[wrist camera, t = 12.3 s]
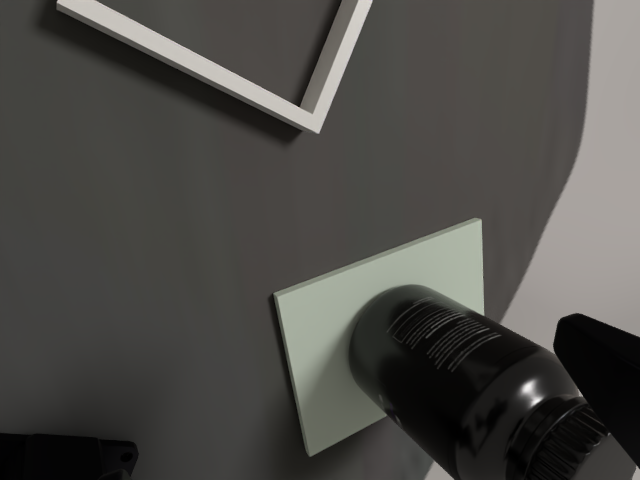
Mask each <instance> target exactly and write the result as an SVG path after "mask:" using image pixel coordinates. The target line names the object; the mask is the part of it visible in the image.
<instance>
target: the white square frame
mask: <svg viewBox="0 0 640 480" xmlns="http://www.w3.org/2000/svg"><path fill="white" fill-rule="evenodd" d="M372 1H373V0H342V2H341V4H340V7H339V9H338V12H337V14H336V17H335V19H334V22H333V24H332V27H331V29H330V32H329V34H328V37H327V39H326V42H325V45H324V47H323V50H322V52H321V55H320V57H319V60H318V62H317V65H316V67H315V70H314V72H313V75H312V77H311V80H310V82H309V85H308V87H307V90H306V92H305V95H304V97H303V100H302V102H301V105H300V107H297V106H296V105H294V104H292V103H290V102H288V101H286V100H284V99H282V98H280V97H278V96H276V95H275V94H273V93H271V92H269V91H267V90H265V89H263V88H261V87H259V86H257V85H255V84H253V83H252V82H250V81H248V80H246V79H244V78H242V77H240V76H238V75H236V74H234V73H232V72H231V71H229V70H227V69H225V68H223V67H221V66H219V65H217V64H215V63H213V62H211V61H210V60H208V59H206V58H204V57H202V56H200V55H198V54H196V53H194V52H192V51H190V50H189V49H187V48H185V47H183V46H181V45H179V44H177V43H175V42H173V41H171V40H169V39H168V38H166V37H164V36H162V35H160V34H158V33H156V32H154V31H152V30H150V29H148V28H146V27H145V26H143V25H141V24H139V23H137V22H135V21H133V20H131V19H129V18H127V17H125V16H124V15H122V14H120V13H118V12H116V11H114V10H112V9H110V8H108V7H106V6H104V5H103V4H101V3H99V2H97V1H95V0H58V1H57V7H56V9H57V10H59V11H61V12H63V13H65V14H67V15H69V16H71V17H73V18H75V19H77V20H79V21H81V22H83V23H85V24H87V25H89V26H91V27H93V28H95V29H97V30H99V31H101V32H103V33H105V34H107V35H109V36H111V37H113V38H116V39H118V40H120V41H122V42H124V43H126V44H128V45H130V46H132V47H134V48H136V49H138V50H140V51H142V52H144V53H146V54H148V55H150V56H152V57H154V58H156V59H158V60H160V61H162V62H164V63H166V64H168V65H170V66H172V67H174V68H176V69H178V70H180V71H182V72H184V73H186V74H188V75H190V76H192V77H194V78H196V79H198V80H201V81H203V82H205V83H207V84H209V85H211V86H213V87H215V88H217V89H219V90H221V91H223V92H225V93H227V94H229V95H231V96H233V97H235V98H237V99H239V100H241V101H243V102H245V103H247V104H249V105H251V106H253V107H255V108H257V109H259V110H261V111H263V112H265V113H267V114H269V115H271V116H273V117H275V118H277V119H279V120H281V121H283V122H286V123H288V124H290V125H292V126H294V127H296V128H298V129H300V130H302V131H305V132H311V133H317V134H319V132H320V130H321V127H322V125H323V122H324V120H325V117H326V115H327V112H328V110H329V107H330V105H331V102H332V100H333V98H334V95H335V93H336V90H337V88H338V85H339V83H340V80H341V78H342V75H343V73H344V70H345V68H346V65H347V63H348V60H349V58H350V55H351V53H352V50H353V48H354V46H355V43H356V41H357V38H358V36H359V33H360V31H361V28H362V26H363V23H364V21H365V18H366V16H367V13H368V11H369V8H370V6H371V3H372Z"/></svg>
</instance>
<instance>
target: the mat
mask: <svg viewBox="0 0 640 480" xmlns="http://www.w3.org/2000/svg"><path fill="white" fill-rule="evenodd" d="M409 284H417V285H423V286H426V287H429V288H431V289H433V290H435V291H437V292H439V293H441V294H443V295H445V296H447V297H449V298H451V299H453V300H455V301H457V302H459V303H460V304H462V305H464V306H466V307H468V308H470V309H472V310H474V311H476V312H477V313H479V314H481V315H483V316H484V297H483V259H482V220H481V219H478V218H473V219H470V220H467V221H465V222H462V223H459V224H457V225H454V226H451V227H449V228H446V229H443V230H441V231H438V232H435V233H433V234H430V235H427V236H425V237H422V238H419V239H417V240H414V241H411V242H409V243H406V244H403V245H401V246H398V247H395V248H393V249H390V250H387V251H385V252H382V253H379V254H377V255H374V256H371V257H368V258H366V259H363V260H360V261H358V262H355V263H352V264H350V265H347V266H344V267H342V268H339V269H336V270H334V271H331V272H328V273H326V274H323V275H320V276H318V277H315V278H312V279H310V280H307V281H304V282H302V283H299V284H296V285H294V286H291V287H288V288H286V289H283V290H280V291H278V292H275V293H273V295H274V300H275V305H276V310H277V315H278V319H279V324H280V329H281V334H282V339H283V344H284V348H285V353H286V358H287V363H288V368H289V372H290V377H291V382H292V387H293V392H294V397H295V401H296V406H297V411H298V416H299V421H300V425H301V430H302V435H303V440H304V445H305V450H306V452H307V454H308V455H309V456H310V457H311V456H313V455H315V454H317V453H318V452H320V451H322V450H324V449H326V448H328V447H330V446H331V445H333V444H335V443H337V442H339V441H341V440H343V439H345V438H346V437H348V436H350V435H352V434H354V433H356V432H358V431H359V430H361V429H363V428H365V427H367V426H369V425H371V424H372V423H374V422H376V421H378V420H380V419H382V418H384V417H385V416H387V414H386V413H385V412H383V411H382V410H381V409H380V408H379V407H378V406H377V405H376V404H375V403H374V402H373V401H372V400H371V399H370V398H369V397H368V396H367V395H366V394H365V393H364V392H363V391H362V390H361V389H360V388H359V386H358V385H357V384H356V382H355V381H354V379H353V377H352V374H351V371H350V367H349V359H348V352H349V344H350V340H351V336H352V333H353V331H354V328H355V326H356V324H357V322H358V320H359V318H360V317H361V315H362V314H363V313H364V311H365V310H366V309H367V308H368V306H369V305H370V304H371V303H372V302H373V301H374V300H376V299H377V298H378V297H379V296H381V295H382V294H384V293H385V292H387V291H389V290H391V289H393V288H396V287H399V286H403V285H409Z"/></svg>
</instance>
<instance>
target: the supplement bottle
mask: <svg viewBox="0 0 640 480" xmlns="http://www.w3.org/2000/svg"><path fill="white" fill-rule="evenodd" d="M348 359H349V367H350V371H351V374H352V377H353V379H354V381H355V382H356V384H357V385H358V386H359V388H360V389H361V390H362V391H363V392H364V393H365V394H366V395H367V396H368V397H369V398H370V399H371V400H372V401H373V402H374V403H375V404H376V405H377V406H378V407H379V408H380V409H381V410H382V411H383V412H385V413H386V414H387V415H388V416H389V417H390V418H391V419H392V420H393V421H394V422H395V423H396V424H397V425H398V426H399V427H400V428H401V429H402V430H403V431H404V432H405V433H406V434H407V435H408V436H410V437H411V438H412V439H413V440H414V441H415V442H416V443H417V444H418V445H419V446H420V447H421V448H422V449H423V450H424V451H425V452H426V453H427V454H428V455H429V456H430V457H431V458H432V459H434V460H435V461H436V462H437V463H438V464H439V465H440V466H441V467H442V468H443V469H444V470H445V471H446V472H447V473H448V474H449V475H450V476H451V477H452V478H454V480H632V477H633V474H634V472H635V470H636V464H635V463H634V461H633V460H632V459H631V458H630V457H629V455H628V454H627V453H626V452H625V450H624V449H623V448H622V447H621V446H620V444H619V443H618V442H617V441H616V439H615V438H614V437H613V436H612V435H611V433H610V432H609V431H608V430H607V428H606V427H605V426H604V425H603V423H602V422H601V421H600V419H599V418H598V417H597V415H596V414H595V413H594V411H593V410H592V408H591V407H590V405H589V404H588V403H587V401H586V400H585V398H584V397H579V392H578V388H577V386H576V385H575V383H574V382H573V380H572V379H571V377H570V376H569V374H568V373H567V371H566V370H565V368H564V367H563V365H562V364H561V362H560V361H559V359H558V358H557V356H556V355H555V354H553V353H552V352H550V351H548V350H547V349H545V348H543V347H541V346H540V345H538V344H536V343H534V342H532V341H530V340H528V339H526V338H525V337H523V336H521V335H519V334H517V333H515V332H513V331H511V330H510V329H508V328H506V327H504V326H502V325H500V324H498V323H496V322H494V321H493V320H491V319H489V318H487V317H485V316H483V315H481V314H479V313H477V312H476V311H474V310H472V309H470V308H468V307H466V306H464V305H462V304H460V303H459V302H457V301H455V300H453V299H451V298H449V297H447V296H445V295H443V294H441V293H439V292H437V291H435V290H433V289H431V288H429V287H426V286H423V285H417V284H409V285H403V286H399V287H396V288H393V289H391V290H389V291H387V292H385V293H384V294H382V295H381V296H379V297H378V298H377V299H376V300H374V301H373V302H372V303H371V304H370V305H369V306H368V308H367V309H366V310H365V311H364V313H363V314H362V315H361V317H360V318H359V320H358V322H357V324H356V326H355V328H354V331H353V333H352V336H351V340H350V344H349V352H348Z"/></svg>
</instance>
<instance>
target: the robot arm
mask: <svg viewBox="0 0 640 480" xmlns="http://www.w3.org/2000/svg"><path fill="white" fill-rule="evenodd" d="M553 347H554V352H555V354H556V356H557V358H558V359H559V361H560V362H561V364H562V365H563V367H564V368H565V370H566V371H567V373H568V374H569V376H570V377H571V379H572V380H573V382H574V383H575V385H576V386H577V388H578V389H579V391H580V392H581V393H582V395H583V397H584V398H585V400H586V401H587V403H588V404H589V405H590V407H591V408H592V410H593V411H594V413H595V414H596V415H597V417H598V418H599V419H600V421H601V422H602V423H603V425H604V426H605V427H606V428H607V430H608V431H609V432H610V433H611V435H612V436H613V437H614V438H615V439H616V441H617V442H618V443H619V444H620V446H621V447H622V448H623V449H624V450H625V452H626V453H627V454H628V455H629V457H630V458H631V459H632V460H633V461H634V463H635V464H636V465H637V466H638V468H639V469H640V337H638V336H636V335H633V334H631V333H628V332H625V331H623V330H621V329H618V328H616V327H613V326H610V325H608V324H606V323H603V322H600V321H598V320H596V319H593V318H590V317H588V316H585V315H583V314H579V313H576V314H571V315H568V316H566V317H563V318H561V319H560V320H559V321H558V324H557V329H556V333H555V339H554V343H553ZM125 452H131V453H130V454H129V455H127V456H121V455H122V454H124V453H125ZM138 455H139V453H138V449H137V446H136V444H135V443H134V442H130V441H117V440H100V439H98V438H95V437H79V436H64V435H48V434H33V435H20V434H4V433H0V480H132V479H131V478H130V477H131V474H132V471H133V469H134V466H135V464H136V461H137V459H138Z"/></svg>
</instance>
